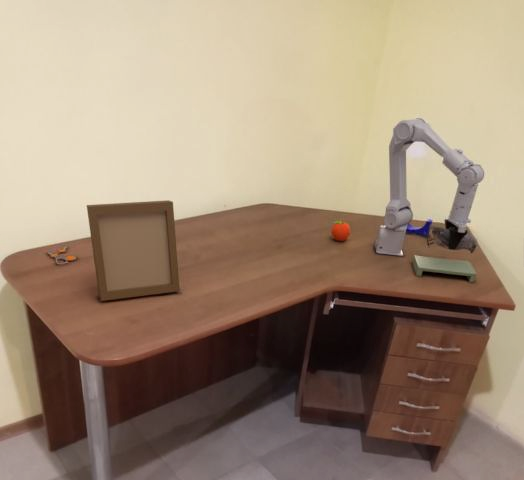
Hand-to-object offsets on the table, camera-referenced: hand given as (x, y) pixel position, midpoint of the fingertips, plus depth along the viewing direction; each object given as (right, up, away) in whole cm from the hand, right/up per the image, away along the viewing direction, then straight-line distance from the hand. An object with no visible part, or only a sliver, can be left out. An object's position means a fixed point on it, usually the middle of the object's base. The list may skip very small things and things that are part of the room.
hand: (450, 245), depth 171 cm
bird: (0, -1, +1) cm, 2 cm away
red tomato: (-34, +6, +22) cm, 41 cm away
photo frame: (-98, -16, -21) cm, 102 cm away
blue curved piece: (-2, +12, +35) cm, 37 cm away
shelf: (-1, -8, +5) cm, 10 cm away
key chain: (-125, -5, -8) cm, 125 cm away
